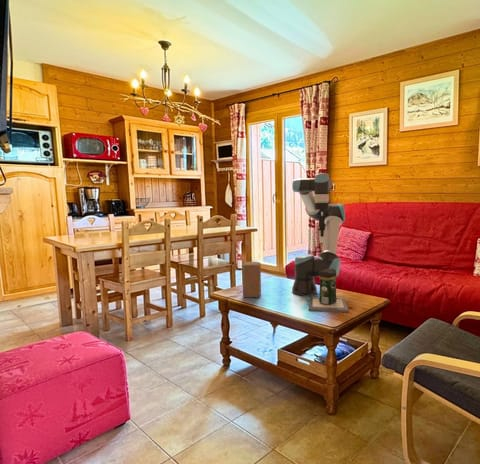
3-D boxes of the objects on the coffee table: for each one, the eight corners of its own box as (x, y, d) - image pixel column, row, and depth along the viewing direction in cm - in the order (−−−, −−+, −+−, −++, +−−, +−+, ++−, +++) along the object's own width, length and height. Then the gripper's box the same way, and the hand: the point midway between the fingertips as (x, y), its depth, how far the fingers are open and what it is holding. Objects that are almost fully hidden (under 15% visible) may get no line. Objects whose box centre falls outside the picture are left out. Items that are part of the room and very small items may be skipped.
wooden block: (259, 298, 206) (258, 265, 204) (242, 297, 208) (241, 264, 206) (261, 293, 216) (260, 261, 214) (245, 293, 218) (244, 261, 216)
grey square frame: (309, 299, 202) (309, 296, 202) (345, 300, 198) (345, 297, 198) (308, 310, 183) (308, 307, 183) (348, 312, 179) (348, 309, 178)
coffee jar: (325, 299, 197) (325, 266, 194) (338, 301, 191) (338, 268, 189) (316, 303, 190) (316, 269, 188) (329, 306, 184) (329, 271, 182)
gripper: (314, 201, 204) (314, 237, 206) (314, 203, 179) (314, 244, 182) (327, 201, 202) (327, 237, 204) (329, 202, 178) (329, 244, 180)
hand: (321, 240), depth 193 cm, fingers open, 13 cm apart
